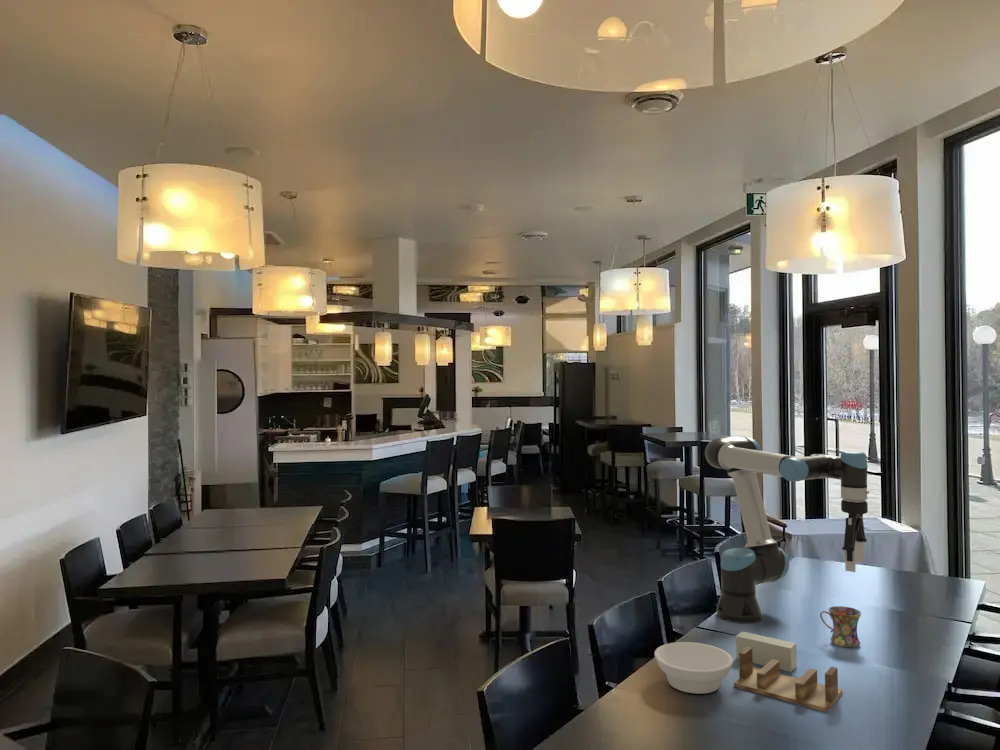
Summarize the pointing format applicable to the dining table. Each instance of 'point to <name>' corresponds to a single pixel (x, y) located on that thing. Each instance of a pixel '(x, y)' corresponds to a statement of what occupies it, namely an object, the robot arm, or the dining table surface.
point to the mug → (844, 625)
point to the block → (768, 650)
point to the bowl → (693, 666)
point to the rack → (788, 683)
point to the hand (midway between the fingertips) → (854, 566)
